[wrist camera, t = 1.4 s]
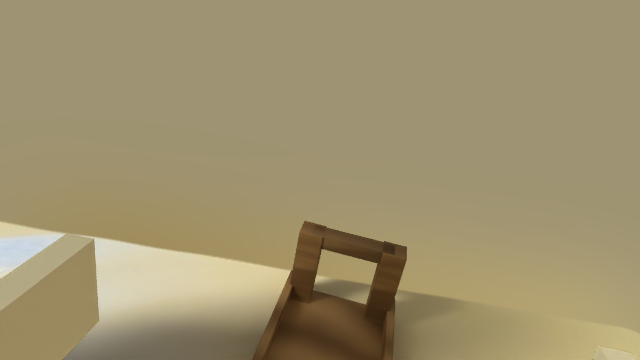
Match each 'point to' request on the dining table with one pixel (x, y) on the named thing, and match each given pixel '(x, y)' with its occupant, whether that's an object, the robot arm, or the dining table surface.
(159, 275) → the dining table surface
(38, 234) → the dining table surface
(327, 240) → the brown wooden stand
